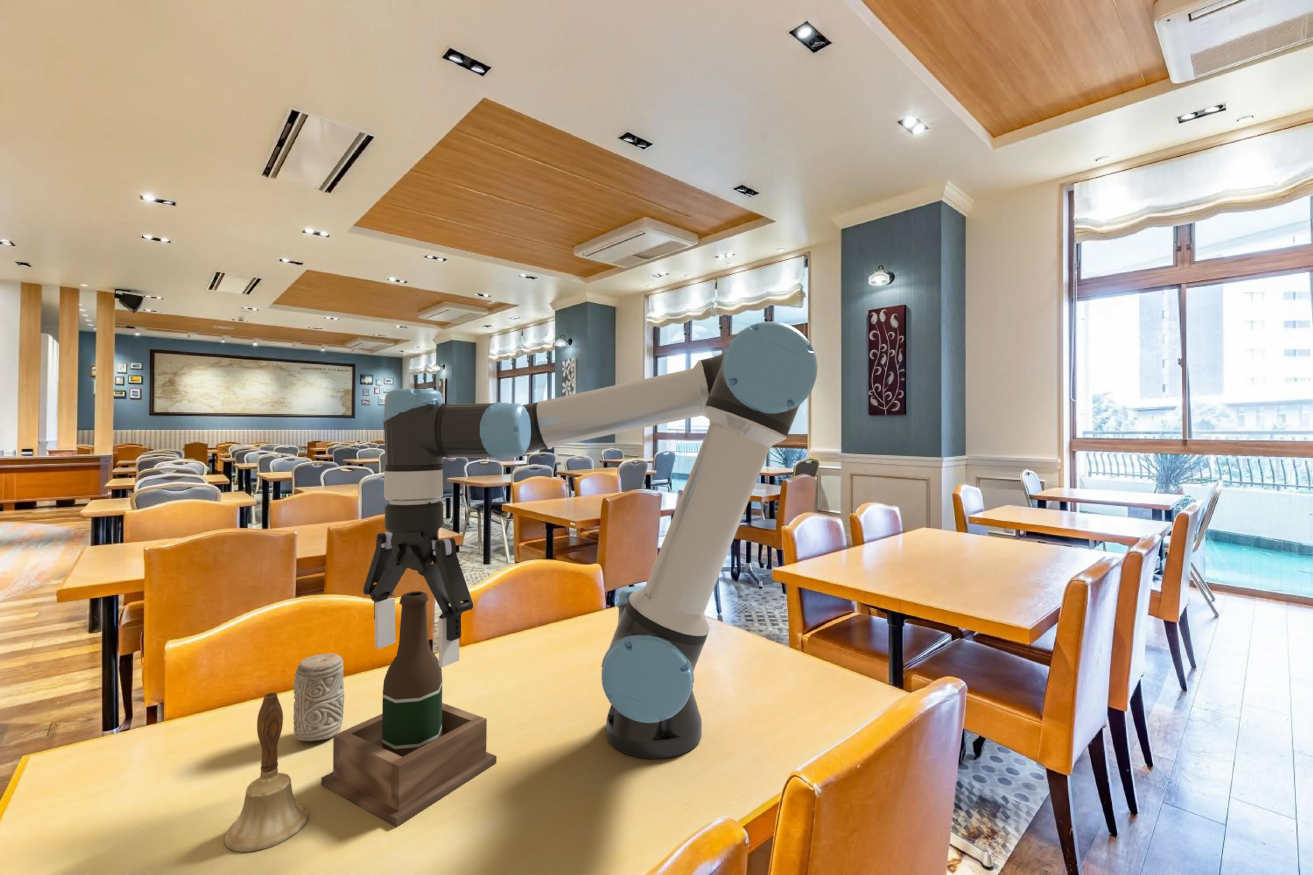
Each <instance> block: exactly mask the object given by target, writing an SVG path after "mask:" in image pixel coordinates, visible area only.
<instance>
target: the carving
mask: <svg viewBox="0 0 1313 875" xmlns="http://www.w3.org/2000/svg"><path fill="white" fill-rule="evenodd" d="M344 668H345V667H344V659H343V657H342V656H341V655H340V654H336V653H333V652H332V653H331V652H330V653H322V654H315V655H314V654H313V655H310V656H308V657H306V658H304V659H302V660H301V661H300V662H299V664H298V665H297V668H296V670H295V676H294V683H293V689H294V690H293V699H294V702H293V717H292V719H293V733H294V736H295V737H296V739H297V740H298V741H302V742H303V741H304V742H305V741H306V742H317V741H321V740H326V739H330V738H333V735H335V734H337V733H340V732H341V729H342V726H343V720H344V705H345V690H344V689H345V686H344V685H345V683H344Z"/></svg>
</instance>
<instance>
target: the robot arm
mask: <svg viewBox="0 0 1313 875" xmlns="http://www.w3.org/2000/svg"><path fill="white" fill-rule="evenodd" d="M817 376H818V360H817V356H816V352H815V350H814V347H813V346H812V344H811V342H810V340H808V339H807V337H806V336H805V335H804V334H803V333H802V332H801V331H799V330H798V329H796V328H795V327H794V326H791V325H789V324H787V323H784V322H779V321H760V322H758V323H754V324H752V325H749V326H747V327H744V329H741V330H740V331H739V332H738V333H737V334H735V336H733V338H732V339H731V341H730V342H728V344H727V346H726V348H725V350H724V352H722V353H720V354H717V355H715V356H712V357H708V358H704V359H699V360H697V362H696V363H695V365H694V366H693V367H692V368H688V369H684V370H680V371H675V372H671V373H666V374H662V375H656V376H652V377H647V378H643V379H642V378H641V379H638V380H633V381H628V382H625V383H619V384H614V385H610V386H606V387H602V388H597V389H592V390H588V391H586V390H585V391H583V392H577V393H573V394H568V395H565V396H564V395H563V396H559V397H556V398H555V397H554V398H550V399H546V400H541V401H538V402H532V403H526V404H523V405H522V404H520V403H514V402H513V403H511V402H510V403H508V402H502V401H500V402H498V401H497V402H492V403H491V402H490V403H489V402H488V403H487V402H486V403H485V402H483V403H459V404H458V403H454V404H453V403H445V402H444V400H443V399H444V398H443V394H442V393H441V392H440V391H439V390H435V389H426V388H425V389H424V388H396V389H391V390H389V391H388V392H387V393H386V395H385V397H384V412H383V413H384V414H383V420H382V425H383V429H384V430H383V431H384V432H383V433H384V434H383V435H384V471H383V472H384V473H383V474H384V476H383V488H384V489H383V490H384V492H383V493H384V494H383V498H384V499H385V500H386V501H388V502H389V503H386V505H385V506H384V528H385V530H386V531H387V532H386V531H385V532H380V533H377V535H376V541H375V551H374V553H373V555H372V556H373V557H372V560H371V563H370V567H369V570H368V573H367V575H366V580H365V583H364V586H363V589H362V592H363V594H364V595H365V596H367V595H369V596H370V599H371V601H373V611H374V612H373V620H374V648H375V649H377V650H378V649H383V648H385V647H387V646H390V645H393V644H396V598H394V596H396V595H395V593H394V591H395V589H396V587H397V585H398V584H399V583H400V581H401V579H402V577H403V575H404V573H405V572H406V570H407V569H410V570H411V571H416V572H417V573H418V574H419V575H420V576H422V577H423V578H424V580H425V582H426V584H427V586H428V587H429V590H430V591H431V593H432V595H433V597H434V599H435V601H436V603H437V605H438V607H439V609H440V612H441V614H440V615H439V616H438V618H437V620H438V623H437V625H438V626H437V627H438V661H439V667H441V668H444V667H447V666H450V665H452V664H454V663H457V662H458V661H460V639H461V636H462V613H465V612H468V611H471V610H473V608H474V602H473V599H472V596H471V594H470V591H469V588H468V584H467V582H466V581H467V580H466V578H465V576H464V572H463V570H462V566H461V564H460V561H459V558H458V554H457V543H456V540H455V538H454V537H451V538H445V539H440V538H439V535H438V534H439V532H438V531H439V530H440V529H441V528H443V526H444V520H445V519H444V503H443V502H442V501H440V500H439V499H440V498H441V499H442V497H443V496H444V480H443V479H444V475H443V474H444V472H443V469H444V458H445V459H451V458H463V459H464V458H470V459H471V458H473V459H474V458H475V459H480V458H484V459H488V458H489V459H491V458H493V459H494V458H495V459H497V460H502V459H509V458H519V457H523V456H524V455H526V454H529V453H531V452H535V451H536V452H537V451H540V450H545V449H548V448H553V447H557V446H563V445H567V444H571V443H577V442H582V441H586V440H591V439H596V438H601V437H605V436H610V435H615V434H620V433H625V432H629V431H633V430H638V429H644V428H648V427H649V428H650V427H653V426H658V425H664V424H668V423H674V422H677V421H682V420H687V419H692V418H697V417H701V416H702V417H705V418H707V419H708V421H709V426H708V428H707V430H706V433H705V436H704V438H703V440H702V442H701V446H700V449H699V451H698V454H697V456H696V458H695V461H694V463H693V466H692V469H691V471H690V473H689V476H688V479H687V481H686V484H685V485H684V488H683V491H682V493H681V496H680V499H679V502H678V503H677V506H676V508H675V511H674V513H673V516H672V518H671V521H670V524H669V525H668V526H669V527H668V529H667V532H666V534H665V536H664V538H663V541H662V543H661V546H660V548H659V551H658V554H657V557H656V559H655V560H654V561H655V562H654V564H653V566H652V569H651V572H650V574H649V577H648V580H647V582H646V584H645V585H640V586H639V585H637V586H629V587H625V588H623V589H622V590H620V592H619V594H618V602H617V604H616V606H617V608H618V615H617V618H618V619H617V626H616V629H615V631H614V634H613V637H612V639H611V642H610V645H609V648H608V649H607V650H606V652H605V654H604V657H603V659H602V663H601V668H602V669H601V685H602V689H603V692H604V694H605V696H606V699H607V700H608V702H609V703H610V707H609V710H608V713H607V716H606V720H605V721H606V723H605V724H606V726H605V727H606V728H605V729H606V730H605V734H606V736H605V737H606V740H607V742H608V743H609V744H610V745H611V746H612V747H613V748H614V749H616V750H617V751H619V752H621V753H623V754H625V755H626V754H627V755H629V756H631V757H636V758H642V759H667V758H673V757H676V756H677V757H678V756H680V755H683V754H686V753H688V752H690V751H691V750H693V749H694V748H695V747H697V745H698V744H699V743H700V742H701V739H702V734H703V733H702V726H703V725H702V724H703V722H702V717H701V713H700V711H699V710H700V709H699V707H698V706H699V705H698V703H697V700H696V697H695V694H694V690H693V689H694V682H695V676H694V672H695V668H696V666H697V664H698V661H699V658H700V655H701V653H702V651H703V647H704V646H705V643H706V641H707V637H708V635H709V633H710V629H711V628H710V625H709V622H708V619H707V618H706V615H705V612H706V610H707V607H708V605H709V602H710V599H711V598H712V593H713V592H714V589H715V587H716V584H717V581H718V580H719V577H720V574H721V571H722V569H723V567H724V563H725V562H726V559H727V556H728V554H729V551H730V550H731V546H732V544H733V541H734V539H735V537H736V534H737V532H738V529H739V527H740V524H741V522H742V519H743V516H744V514H745V511H746V509H747V506H748V504H749V501H750V499H751V497H752V494H753V492H754V489H755V486H756V484H757V481H758V479H759V476H760V473H761V471H762V469H763V466H764V464H765V461H766V459H767V456H768V454H769V451H770V449H771V448H772V447H773V446H774V445H777V444H778V443H781V442H783V441H786V440H787V437H788V435H789V432H790V431H791V429H792V426H793V422H794V421H795V418H796V415H797V413H798V410H799V408H800V406H801V405H802V404H803V403H804V402H805V401H806V399H808V398H809V395H810V394H811V393H812V391H813V389H814V387H815V383H816V381H817Z"/></svg>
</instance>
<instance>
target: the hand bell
mask: <svg viewBox="0 0 1313 875" xmlns="http://www.w3.org/2000/svg"><path fill="white" fill-rule="evenodd" d="M283 712H284V710H283V708H282V705H281V703H280V700H279V697H278V694H277V692H269V693H267V694H265V695H264V696H263V700H262V703H261V705H260V709H259V711H258V715H257V720H256V730H257V738H258V740H259V744H260V747H261V761H260V762H261V763H260V777H258V778H256V779H254V780H253V781H252V782H250V784H248V786H247V788H246V789H245V796H244V802H243V805H242V810H241V812H240V814H239V816H238V818H237V819H236V820H235V821H234V822H233V823H232V824H231V826H230V827H229V828H228V830H227V832H226V834H225V836H224V844H225V846H226V847H227V849H229V850H231V851H234V852H239V853H245V852H246V853H249V852H256V851H261V850H265V849H268V848H271V847H272V848H273V847H275V846H276V845H279V844H281V843H284V842H285V841H287V840H289V839H290V838H292V837H293V836H294V835H297V833H299V832H300V831H301V830H302V829H303V828H304V827H305V825H306V824H307V822H308V819H309V812H308V809H307V808H306V807H305V805H303V804H301V803H300V802H298V801H297V799H296V798H295V795H294V793H293V792H294V791H293V787H292V779H291V777H290V775H289V774H287V773H284V772H278V771H279V768H278V767H279V761H278V745H279V740H280V737H281V735H282V729H283V723H284V713H283Z"/></svg>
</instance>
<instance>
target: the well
mask: <svg viewBox="0 0 1313 875" xmlns="http://www.w3.org/2000/svg"><path fill="white" fill-rule="evenodd" d="M487 721H488V720H487V718H486V717H483V716H480V715H477V714H474V713H471V712H469V711H467V710H463V709H460V708H458V707H455V706H453V705H449V704H447V703H444V702H442V736H441V737H439V738H437V739H435V740H433V741H432V742H430V743H428V744H426V745H424V746H422V747H420V748H418V749H417V750H415V751H413V752H411V753H409V754H407V755H405V756H403V757H401V756H399V755H397V754H395V753H393V752H390V751H388V750H386V749H384V748H382V713H381V714H379V715H376V716H374V717H371V718H369V719H367V720H365V721H363V722H360V723H358V724H356V725H354V726H351V727H349V728H348V729H347V728H346V729H344V730H342V731H339V732H338V733H337V734H335V735H333V737H332V739H333V741H332V742H333V745H332V746H333V748H332V750H333V751H332V755H333V756H332V772H330V773H327V774H326V775H324V776H322V777H320V778H321V779H320V780H321V782H320V784H321V786H323V787H324V788H326V789H328V790H329V791H331V792H333V793H334V794H336V795H339V796H340V797H342V798H344V799H345V800H348V801H349V802H351V803H352V804H354V805H356V806H358V807H360V808H362V809H363V810H366V811H367V812H369V813H371V815H372V814H373V815H374V816H376V817H378V818H379V819H382V820H383V821H385V822H387V823H389V824H390V825H393V826H394V827H397V828H398V827H399V826H400V825H402V824H404V823H406V822H407V821H408V820H409V821H410V819H412V818H414V816H416V815H418V814H419V813H421V812H422V811H424V810H426V809H427V808H429V807H430V806H432V805H433V804H435V803H436V802H438V801H440V800H441V799H442V798H444V797H446V796H447V795H450V794H451V793H452V792H454V791H455V790H457V789H458V788H460V787H462V786H463V785H465V784H466V783H468V782H469V781H471V780H472V779H473V778H475V777H477V776H479V775H480V774H481V773H483V772H485V771H486V770H488V769H489V768H491V767H492V766H494V765H495V764H497V755H495V754H493V753H491V752H487V730H488V729H487Z"/></svg>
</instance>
